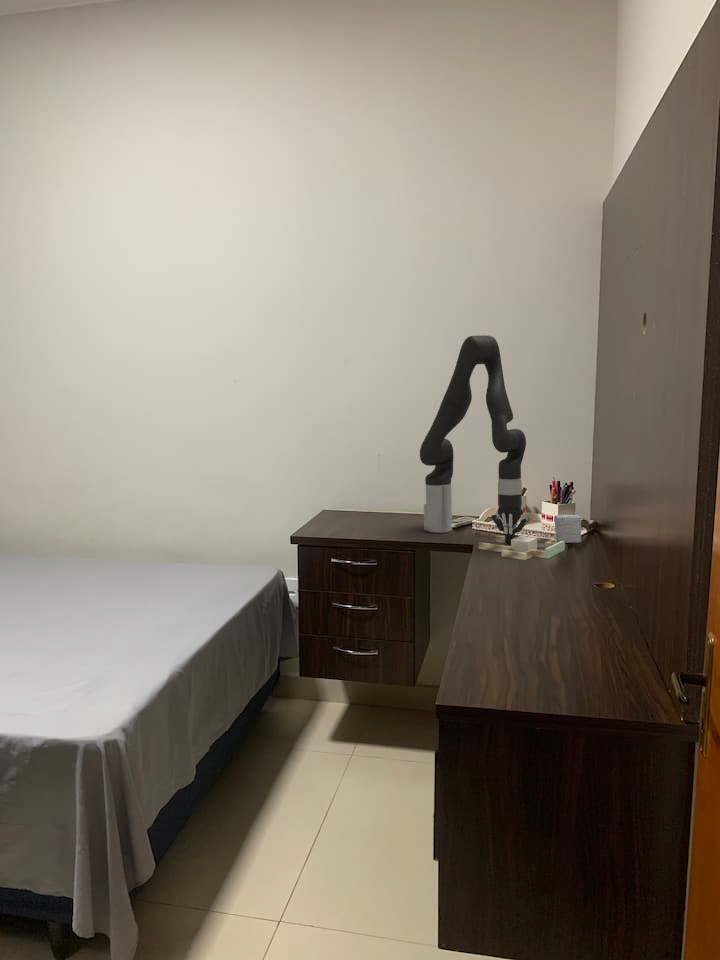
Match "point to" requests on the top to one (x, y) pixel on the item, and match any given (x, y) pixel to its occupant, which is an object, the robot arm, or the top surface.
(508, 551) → the trap track
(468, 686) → the top surface
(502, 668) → the top surface
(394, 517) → the top surface
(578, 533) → the medicine box
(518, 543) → the ivory block
